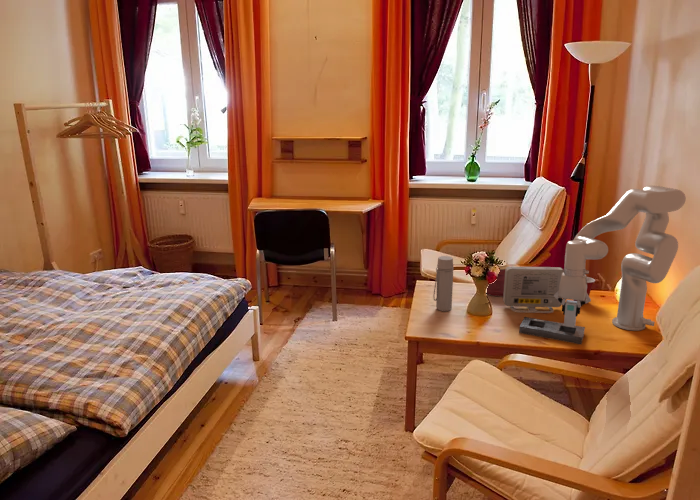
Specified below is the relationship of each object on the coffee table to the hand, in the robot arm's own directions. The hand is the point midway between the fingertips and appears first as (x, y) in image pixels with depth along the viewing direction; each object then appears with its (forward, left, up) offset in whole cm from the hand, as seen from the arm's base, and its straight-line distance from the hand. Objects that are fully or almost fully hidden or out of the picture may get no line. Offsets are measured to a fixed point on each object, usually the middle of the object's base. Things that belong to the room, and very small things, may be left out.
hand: (570, 313), depth 208 cm
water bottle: (+55, -4, -10) cm, 56 cm away
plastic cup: (-1, -43, -10) cm, 44 cm away
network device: (+18, -23, -10) cm, 31 cm away
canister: (+38, -38, -10) cm, 55 cm away
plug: (0, 0, -5) cm, 5 cm away
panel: (+6, 0, -10) cm, 12 cm away
